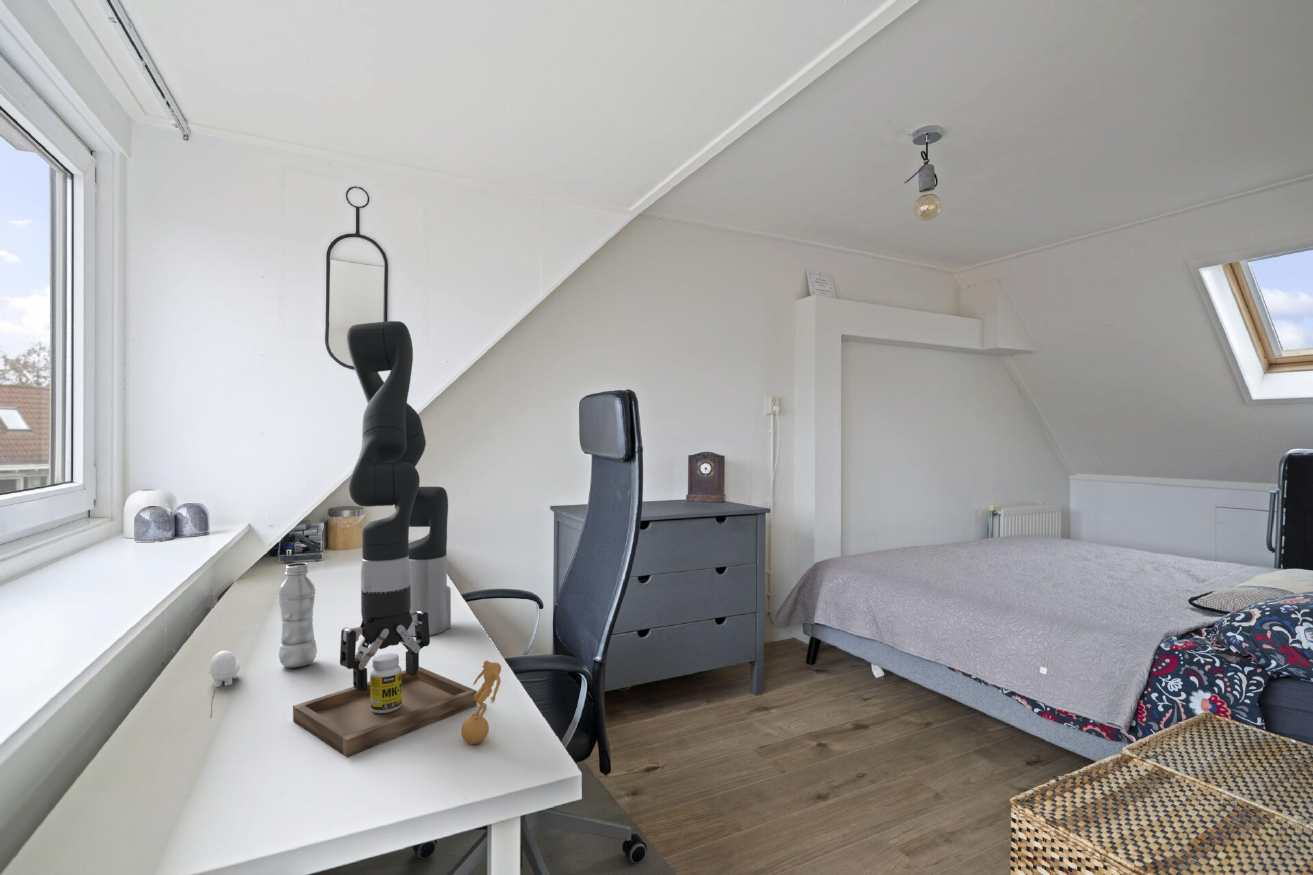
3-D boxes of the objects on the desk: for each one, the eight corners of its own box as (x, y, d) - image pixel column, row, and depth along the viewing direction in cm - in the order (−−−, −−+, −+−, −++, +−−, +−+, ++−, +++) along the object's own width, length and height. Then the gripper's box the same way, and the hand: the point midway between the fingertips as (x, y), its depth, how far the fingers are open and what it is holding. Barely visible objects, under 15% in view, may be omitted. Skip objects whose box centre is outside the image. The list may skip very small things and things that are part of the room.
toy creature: (205, 692, 116) (205, 657, 116) (214, 676, 123) (214, 643, 123) (235, 687, 118) (235, 653, 118) (243, 672, 125) (242, 640, 125)
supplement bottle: (382, 716, 104) (381, 663, 104) (364, 710, 106) (363, 659, 106) (408, 705, 108) (407, 654, 108) (390, 699, 110) (389, 650, 110)
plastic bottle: (301, 672, 125) (299, 568, 124) (270, 670, 126) (269, 567, 126) (324, 660, 131) (323, 561, 131) (295, 658, 132) (294, 560, 132)
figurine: (453, 735, 100) (453, 657, 99) (491, 725, 103) (491, 649, 103) (470, 758, 93) (470, 674, 92) (511, 746, 96) (510, 665, 96)
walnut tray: (418, 679, 121) (418, 665, 121) (476, 705, 110) (476, 690, 110) (293, 721, 104) (292, 705, 104) (347, 757, 93) (346, 739, 93)
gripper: (413, 573, 115) (414, 664, 115) (331, 589, 104) (332, 690, 104) (437, 579, 110) (438, 674, 110) (354, 597, 99) (355, 702, 99)
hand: (387, 682), depth 107 cm, fingers open, 8 cm apart
